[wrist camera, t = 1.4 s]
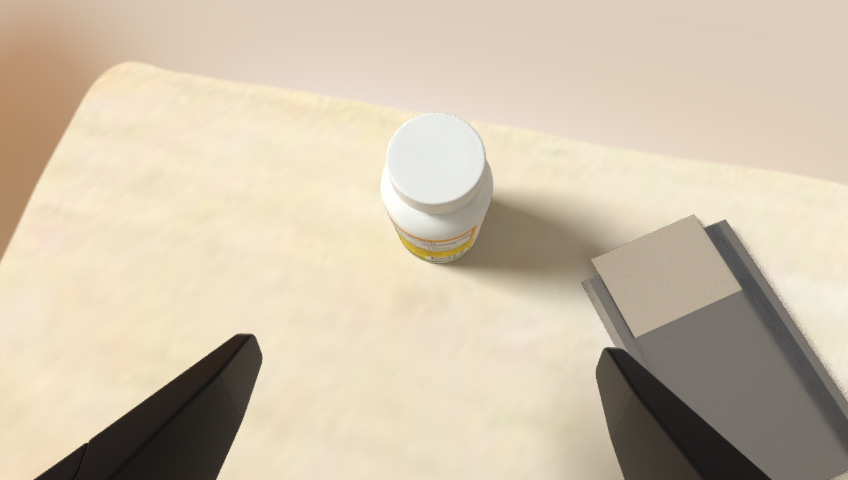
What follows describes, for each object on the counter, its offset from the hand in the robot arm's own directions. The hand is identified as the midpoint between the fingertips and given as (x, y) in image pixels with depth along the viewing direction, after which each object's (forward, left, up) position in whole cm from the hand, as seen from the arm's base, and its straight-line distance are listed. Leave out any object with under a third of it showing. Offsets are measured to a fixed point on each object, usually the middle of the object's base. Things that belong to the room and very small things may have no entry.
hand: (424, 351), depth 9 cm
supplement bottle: (+6, -3, -13) cm, 15 cm away
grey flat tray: (-8, -14, -13) cm, 20 cm away
